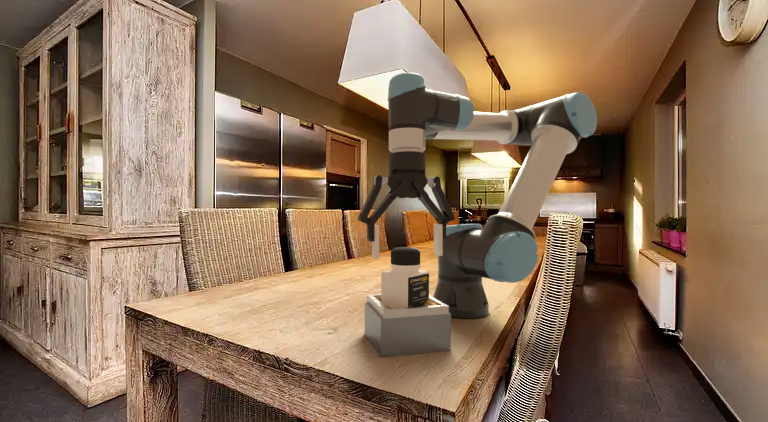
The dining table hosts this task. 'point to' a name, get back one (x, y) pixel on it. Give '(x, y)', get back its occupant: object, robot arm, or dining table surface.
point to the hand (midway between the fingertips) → (407, 256)
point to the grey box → (407, 327)
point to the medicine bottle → (405, 280)
